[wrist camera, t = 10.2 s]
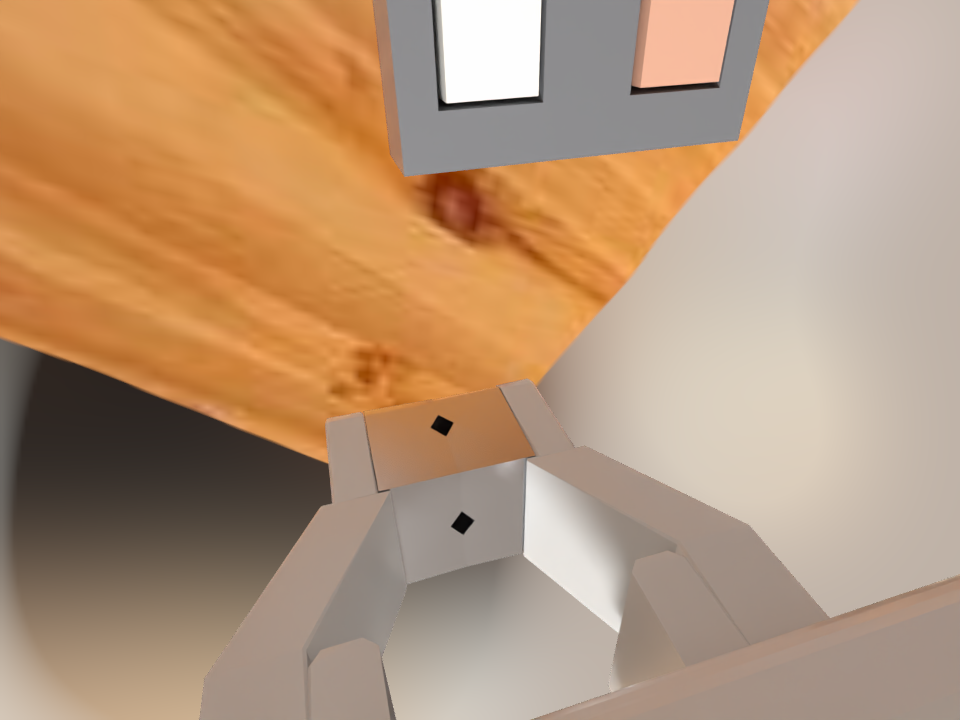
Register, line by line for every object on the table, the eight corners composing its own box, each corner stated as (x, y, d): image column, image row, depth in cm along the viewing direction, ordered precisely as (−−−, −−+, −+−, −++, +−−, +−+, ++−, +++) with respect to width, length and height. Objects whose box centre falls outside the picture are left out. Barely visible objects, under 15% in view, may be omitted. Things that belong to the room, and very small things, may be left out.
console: (361, -99, 27) (374, -114, 23) (730, -99, 32) (794, -111, 28) (390, 154, 34) (404, 176, 30) (691, 124, 39) (737, 140, 35)
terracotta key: (624, -21, 30) (654, -22, 28) (704, -24, 31) (739, -25, 29) (614, 80, 33) (640, 87, 31) (688, 75, 34) (718, 81, 32)
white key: (426, -15, 28) (439, -15, 26) (520, -18, 29) (541, -19, 27) (434, 94, 31) (446, 103, 28) (519, 88, 32) (538, 95, 29)
